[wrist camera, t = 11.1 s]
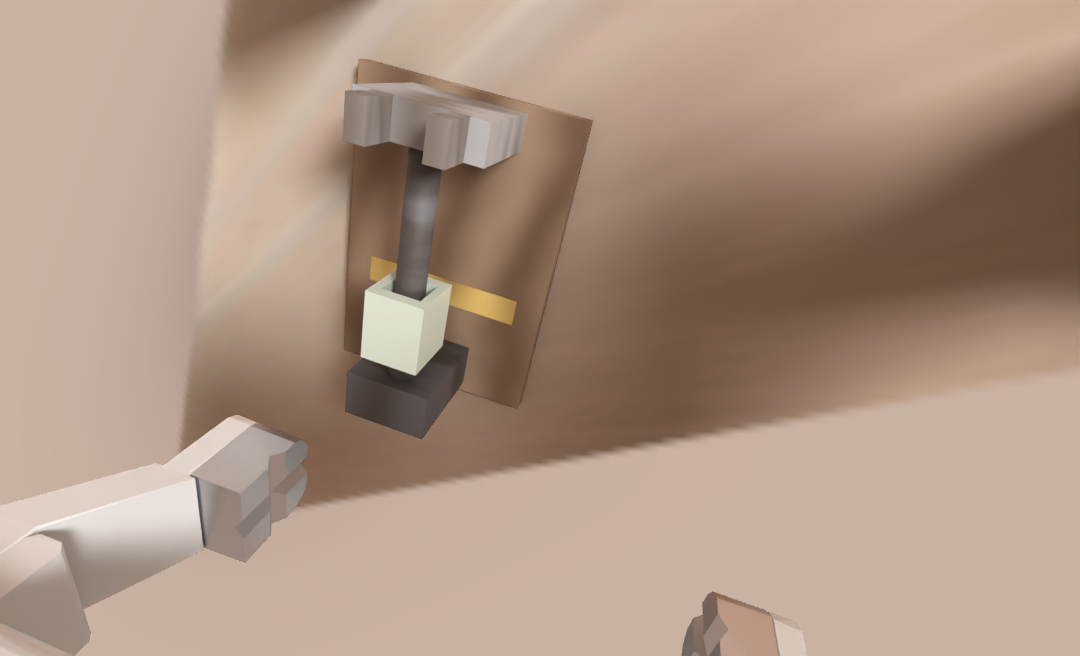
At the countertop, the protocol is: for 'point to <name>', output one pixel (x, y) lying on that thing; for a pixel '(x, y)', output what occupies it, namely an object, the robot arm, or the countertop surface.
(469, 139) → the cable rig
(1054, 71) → the countertop surface
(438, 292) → the sleeve
